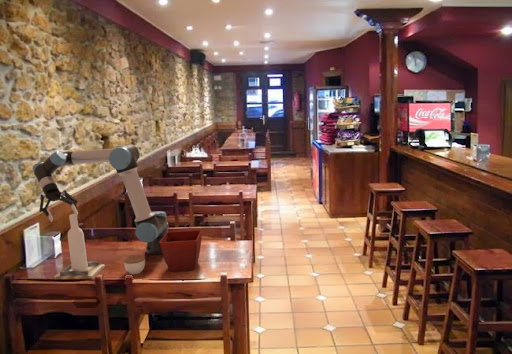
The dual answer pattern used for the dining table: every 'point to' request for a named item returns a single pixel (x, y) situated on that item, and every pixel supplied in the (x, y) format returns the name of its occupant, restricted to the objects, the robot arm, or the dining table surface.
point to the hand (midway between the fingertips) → (64, 217)
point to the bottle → (77, 246)
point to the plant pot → (181, 249)
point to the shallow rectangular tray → (81, 272)
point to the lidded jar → (134, 263)
